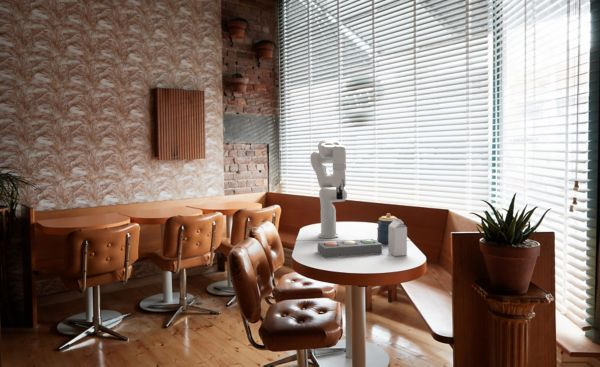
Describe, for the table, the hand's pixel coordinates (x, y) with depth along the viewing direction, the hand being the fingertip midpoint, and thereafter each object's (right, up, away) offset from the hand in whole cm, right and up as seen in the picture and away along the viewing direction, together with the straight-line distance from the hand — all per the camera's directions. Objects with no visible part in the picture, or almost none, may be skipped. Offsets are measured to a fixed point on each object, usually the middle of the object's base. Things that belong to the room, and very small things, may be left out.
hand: (339, 199), depth 242 cm
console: (+4, -28, -13) cm, 32 cm away
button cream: (+4, -25, -14) cm, 29 cm away
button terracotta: (-6, -26, -16) cm, 31 cm away
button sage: (+14, -25, -11) cm, 31 cm away
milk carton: (+29, -29, -18) cm, 45 cm away
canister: (+30, -26, +8) cm, 41 cm away
